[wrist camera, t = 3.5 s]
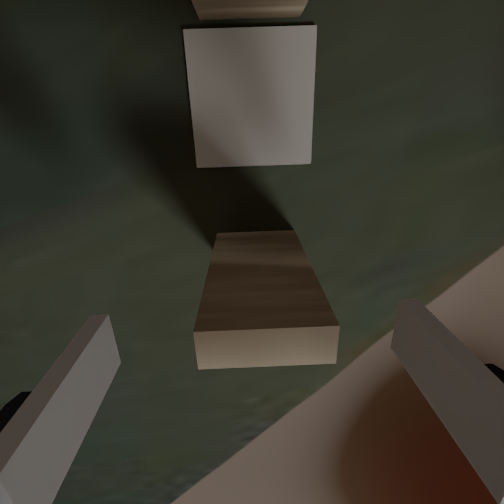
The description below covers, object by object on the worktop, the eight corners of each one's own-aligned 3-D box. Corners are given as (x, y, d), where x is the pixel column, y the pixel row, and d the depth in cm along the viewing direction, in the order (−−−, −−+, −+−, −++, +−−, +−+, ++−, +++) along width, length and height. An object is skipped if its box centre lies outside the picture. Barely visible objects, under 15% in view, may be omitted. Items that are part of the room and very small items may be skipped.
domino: (293, 253, 24) (335, 363, 13) (218, 256, 24) (198, 369, 13) (294, 230, 23) (339, 325, 12) (217, 233, 23) (193, 331, 12)
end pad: (309, 163, 21) (310, 163, 21) (197, 167, 21) (196, 167, 21) (315, 26, 18) (316, 25, 18) (183, 30, 18) (182, 29, 18)
